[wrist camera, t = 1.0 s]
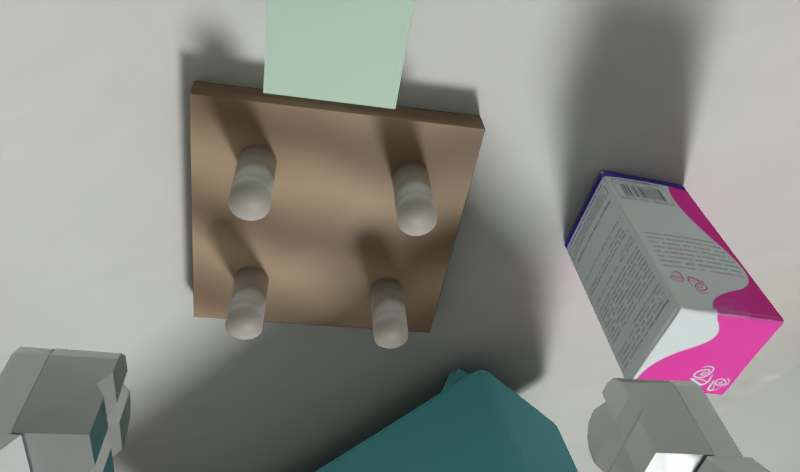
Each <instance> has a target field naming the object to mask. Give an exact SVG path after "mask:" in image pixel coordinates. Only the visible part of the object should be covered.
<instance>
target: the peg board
mask: <svg viewBox="0 0 800 472" xmlns="http://www.w3.org/2000/svg"><path fill="white" fill-rule="evenodd" d="M484 132H485V128H484V125H483V122H482V120H481V117H480V116H473V115H465V114H457V113H449V112H441V111H432V110H424V109H416V108H408V107H400V106H396V109H390V108H382V107H374V106H366V105H358V104H350V103H341V102H333V101H325V100H317V99H309V98H301V97H292V96H284V95H276V94H268V93H263V90H262V89H254V88H246V87H238V86H230V85H222V84H214V83H206V82H198V81H195V82H194V84H193V87H192V89H191V91H190V143H191V194H192V245H193V296H194V317H206V318H221V319H227V320H226V330H227V331H228V333H229V334H230V335H232V336H233V337H235V338H238V339H243V340H247V339H253V338H255V337H257V336H258V335H260V333H261V332H262V329H263V322H264V321H266V322H280V323H295V324H310V325H325V326H340V327H355V328H369V329H373V337H374V341H375V343H376V344H377V345H378V346H380V347H383V348H387V349H392V348H397V347H400V346H402V345H403V344H404V343H405V342H406V341H407V339H408V331H414V332H429V333H430V329H431V326H432V322H433V318H434V315H435V311H436V307H437V304H438V300H439V296H440V293H441V289H442V285H443V282H444V278H445V275H446V271H447V267H448V264H449V260H450V256H451V253H452V249H453V245H454V242H455V238H456V234H457V231H458V227H459V223H460V220H461V216H462V212H463V209H464V205H465V201H466V198H467V194H468V190H469V187H470V183H471V179H472V176H473V172H474V168H475V165H476V161H477V157H478V154H479V150H480V146H481V143H482V139H483V135H484Z"/></svg>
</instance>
